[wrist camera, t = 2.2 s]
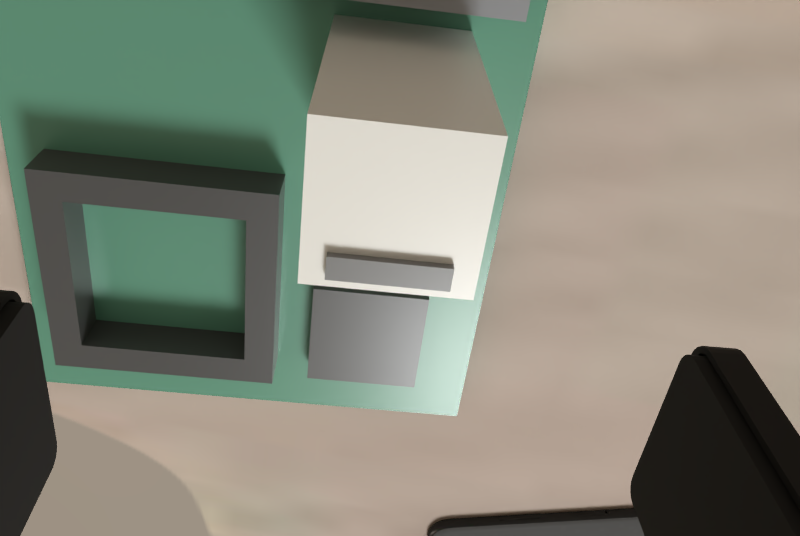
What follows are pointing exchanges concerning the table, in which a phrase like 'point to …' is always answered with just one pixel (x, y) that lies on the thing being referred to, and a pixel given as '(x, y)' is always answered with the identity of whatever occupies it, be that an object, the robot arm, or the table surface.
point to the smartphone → (545, 524)
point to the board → (217, 199)
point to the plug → (399, 161)
